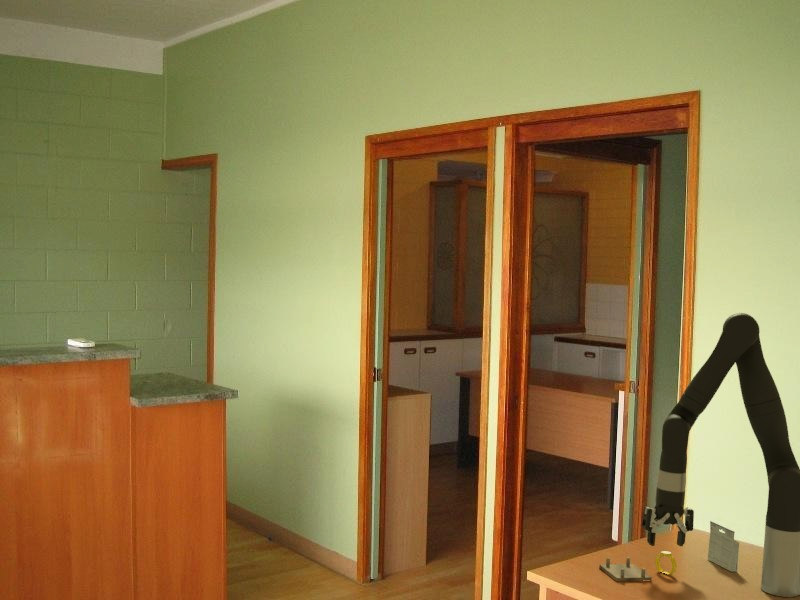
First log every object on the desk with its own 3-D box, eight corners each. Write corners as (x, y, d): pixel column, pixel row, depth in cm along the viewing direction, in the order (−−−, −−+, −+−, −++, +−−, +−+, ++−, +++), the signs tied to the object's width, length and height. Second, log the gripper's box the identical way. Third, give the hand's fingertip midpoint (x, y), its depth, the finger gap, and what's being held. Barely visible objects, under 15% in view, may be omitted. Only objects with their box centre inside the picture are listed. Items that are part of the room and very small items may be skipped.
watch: (677, 576, 254) (678, 554, 254) (670, 578, 252) (672, 556, 252) (659, 569, 259) (661, 548, 259) (653, 571, 257) (654, 550, 257)
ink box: (738, 572, 261) (741, 531, 260) (731, 572, 260) (734, 532, 260) (713, 559, 272) (716, 520, 271) (706, 559, 271) (709, 520, 271)
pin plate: (632, 567, 260) (633, 556, 259) (651, 581, 249) (652, 570, 249) (599, 568, 257) (600, 557, 257) (616, 581, 247) (617, 570, 247)
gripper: (653, 490, 250) (648, 549, 250) (701, 491, 253) (696, 550, 253) (640, 483, 257) (635, 540, 258) (687, 484, 260) (682, 541, 261)
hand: (665, 545), depth 256 cm, fingers open, 8 cm apart
